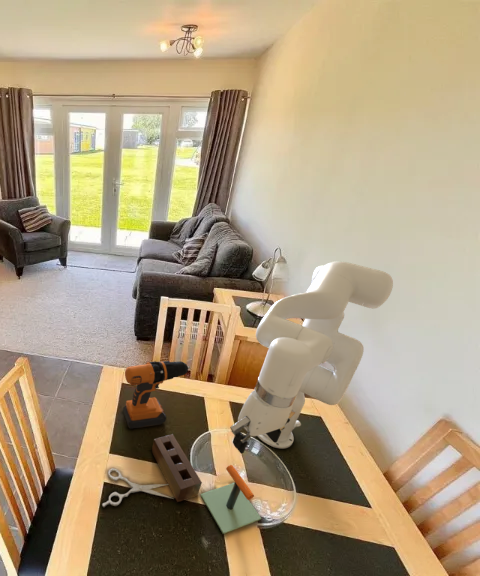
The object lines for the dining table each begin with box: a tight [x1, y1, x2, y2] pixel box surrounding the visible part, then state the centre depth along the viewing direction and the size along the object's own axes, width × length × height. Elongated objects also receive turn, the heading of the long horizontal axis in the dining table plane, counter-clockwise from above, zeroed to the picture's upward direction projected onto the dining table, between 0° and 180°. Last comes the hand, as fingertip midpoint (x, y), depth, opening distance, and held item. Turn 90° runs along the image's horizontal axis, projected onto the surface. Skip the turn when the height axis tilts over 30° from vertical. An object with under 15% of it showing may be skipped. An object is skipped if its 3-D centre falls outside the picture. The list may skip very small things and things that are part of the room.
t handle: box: [226, 464, 255, 510], centre depth 83 cm, size 2×8×12 cm, turn 18°
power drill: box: [122, 360, 191, 429], centre depth 106 cm, size 22×7×25 cm, turn 101°
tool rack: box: [151, 433, 203, 503], centre depth 93 cm, size 7×16×6 cm, turn 18°
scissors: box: [101, 467, 175, 508], centre depth 89 cm, size 11×1×20 cm
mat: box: [200, 482, 262, 535], centre depth 86 cm, size 12×10×1 cm
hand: (254, 442), depth 76 cm, fingers open, 9 cm apart
